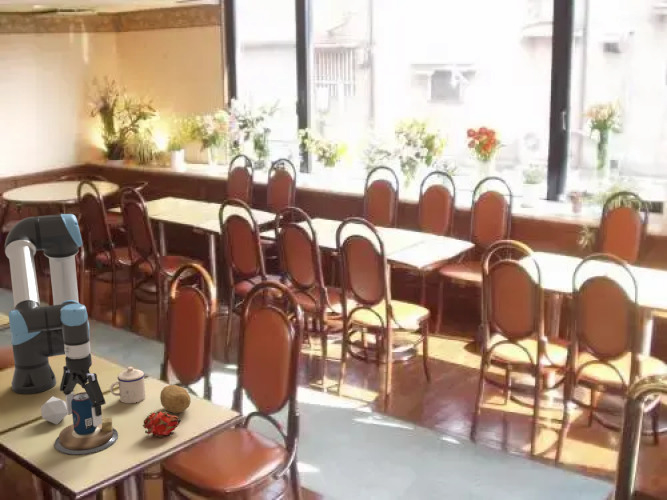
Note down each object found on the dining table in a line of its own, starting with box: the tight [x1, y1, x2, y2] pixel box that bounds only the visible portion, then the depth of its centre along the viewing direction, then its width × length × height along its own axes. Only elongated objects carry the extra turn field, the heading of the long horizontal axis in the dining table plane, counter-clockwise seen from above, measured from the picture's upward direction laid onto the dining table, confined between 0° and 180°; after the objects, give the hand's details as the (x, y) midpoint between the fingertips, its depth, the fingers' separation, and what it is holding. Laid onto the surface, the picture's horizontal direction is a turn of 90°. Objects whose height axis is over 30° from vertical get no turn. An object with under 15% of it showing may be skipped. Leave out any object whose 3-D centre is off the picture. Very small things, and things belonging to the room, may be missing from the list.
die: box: [40, 395, 68, 425], centre depth 266 cm, size 8×9×10 cm
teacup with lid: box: [109, 366, 146, 404], centre depth 281 cm, size 12×9×12 cm
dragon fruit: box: [142, 411, 181, 439], centre depth 255 cm, size 8×8×12 cm
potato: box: [159, 384, 191, 414], centre depth 272 cm, size 10×14×8 cm
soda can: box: [71, 391, 97, 436], centre depth 251 cm, size 7×7×12 cm
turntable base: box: [54, 427, 119, 456], centre depth 253 cm, size 19×19×1 cm
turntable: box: [58, 417, 114, 450], centre depth 253 cm, size 16×16×5 cm
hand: (84, 419), depth 252 cm, fingers open, 13 cm apart
